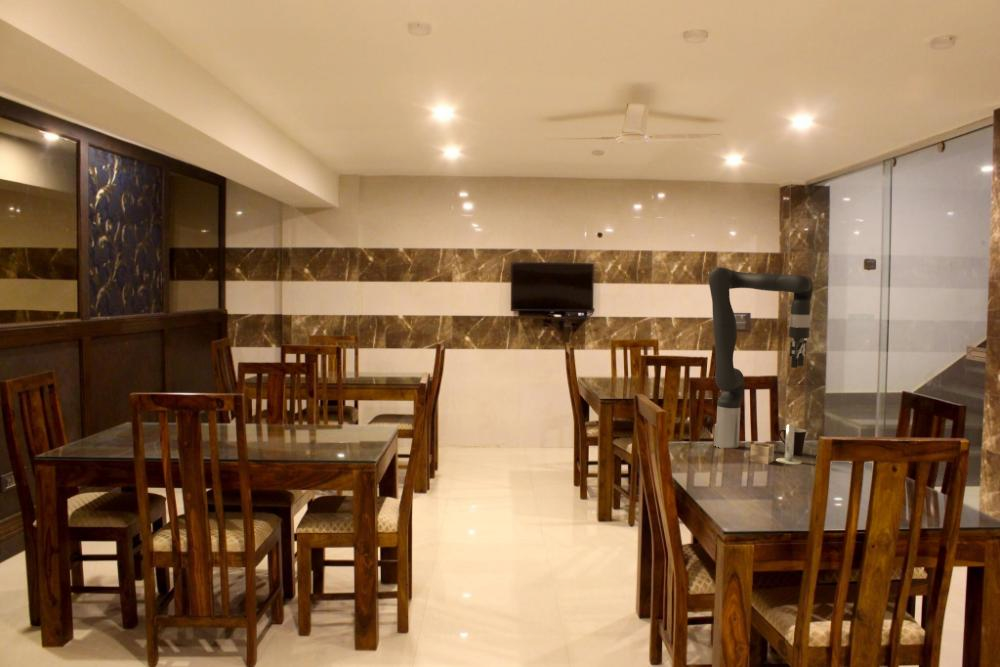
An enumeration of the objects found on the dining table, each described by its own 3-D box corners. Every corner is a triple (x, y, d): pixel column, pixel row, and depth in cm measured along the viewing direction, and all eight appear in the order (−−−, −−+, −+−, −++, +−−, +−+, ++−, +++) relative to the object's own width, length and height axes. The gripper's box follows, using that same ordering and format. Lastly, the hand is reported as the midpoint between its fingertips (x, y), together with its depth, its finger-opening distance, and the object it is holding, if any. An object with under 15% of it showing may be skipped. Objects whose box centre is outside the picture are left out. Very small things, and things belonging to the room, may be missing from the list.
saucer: (772, 463, 275) (773, 460, 275) (780, 459, 282) (780, 456, 282) (797, 467, 269) (797, 464, 269) (804, 463, 276) (804, 460, 276)
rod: (783, 460, 275) (785, 424, 274) (785, 459, 277) (787, 423, 277) (791, 462, 273) (793, 425, 272) (794, 460, 276) (795, 424, 275)
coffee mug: (808, 457, 287) (809, 432, 286) (786, 456, 287) (787, 431, 286) (796, 450, 298) (798, 426, 298) (776, 449, 298) (777, 426, 298)
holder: (749, 463, 274) (750, 445, 274) (755, 460, 279) (756, 442, 279) (767, 466, 270) (768, 447, 270) (773, 462, 275) (773, 445, 275)
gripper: (794, 325, 291) (792, 364, 292) (784, 326, 280) (782, 367, 281) (814, 326, 286) (812, 366, 287) (804, 327, 275) (802, 369, 276)
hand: (797, 366), depth 284 cm, fingers open, 8 cm apart
